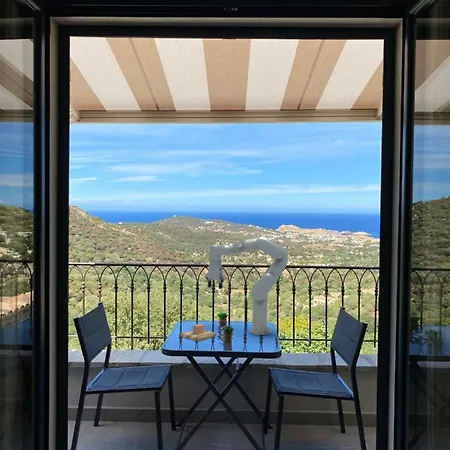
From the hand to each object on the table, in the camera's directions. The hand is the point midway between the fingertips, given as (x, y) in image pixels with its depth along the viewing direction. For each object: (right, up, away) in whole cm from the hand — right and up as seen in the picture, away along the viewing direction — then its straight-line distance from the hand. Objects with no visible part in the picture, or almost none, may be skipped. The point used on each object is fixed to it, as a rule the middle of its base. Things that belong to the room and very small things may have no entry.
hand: (215, 288), depth 267 cm
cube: (-10, -25, -19) cm, 33 cm away
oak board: (-10, -27, -19) cm, 35 cm away
